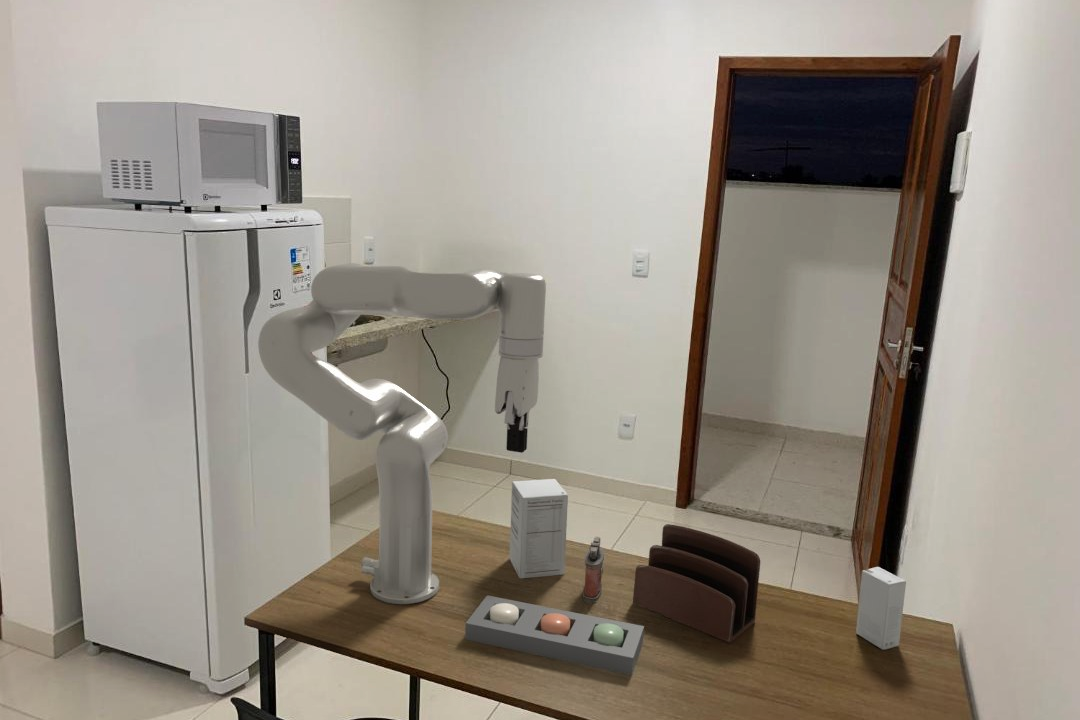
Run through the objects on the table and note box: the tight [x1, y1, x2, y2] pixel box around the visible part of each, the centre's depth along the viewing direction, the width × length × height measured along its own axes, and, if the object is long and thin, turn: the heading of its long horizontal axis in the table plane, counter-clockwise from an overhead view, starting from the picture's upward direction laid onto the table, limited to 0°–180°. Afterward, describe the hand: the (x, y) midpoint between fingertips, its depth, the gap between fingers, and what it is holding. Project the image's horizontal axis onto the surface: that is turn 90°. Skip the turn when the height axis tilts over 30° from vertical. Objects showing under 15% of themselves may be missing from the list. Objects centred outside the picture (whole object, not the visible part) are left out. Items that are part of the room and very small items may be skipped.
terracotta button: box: [541, 613, 570, 636], centre depth 132 cm, size 5×5×3 cm
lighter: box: [582, 536, 605, 603], centre depth 149 cm, size 8×3×10 cm, turn 168°
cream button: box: [490, 603, 519, 626], centre depth 134 cm, size 5×5×3 cm
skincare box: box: [855, 566, 907, 650], centre depth 136 cm, size 6×4×12 cm
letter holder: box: [632, 523, 761, 644], centre depth 142 cm, size 10×20×14 cm, turn 50°
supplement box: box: [509, 478, 569, 579], centre depth 157 cm, size 10×9×17 cm
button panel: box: [464, 595, 645, 676], centre depth 132 cm, size 28×10×3 cm, turn 73°
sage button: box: [593, 623, 624, 648], centre depth 129 cm, size 5×5×3 cm
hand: (516, 450), depth 138 cm, fingers closed
